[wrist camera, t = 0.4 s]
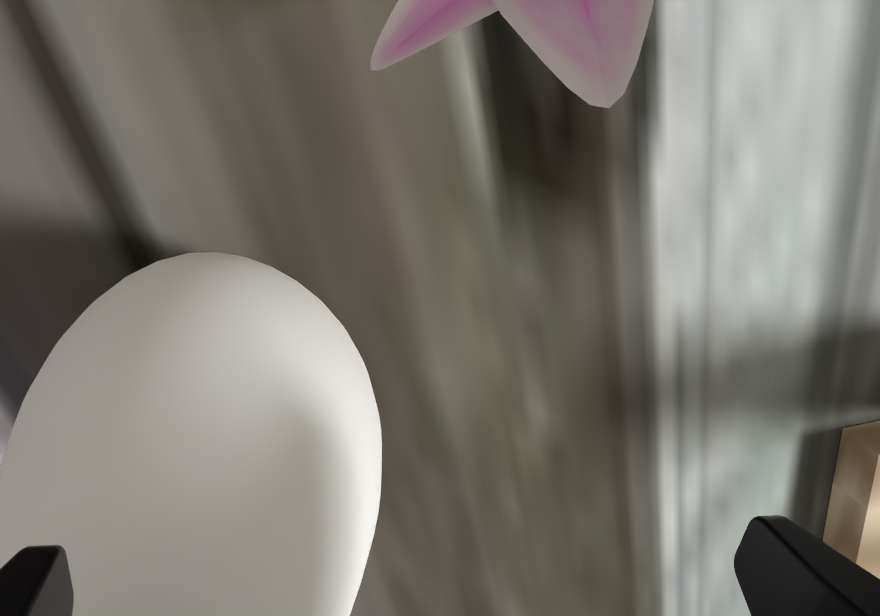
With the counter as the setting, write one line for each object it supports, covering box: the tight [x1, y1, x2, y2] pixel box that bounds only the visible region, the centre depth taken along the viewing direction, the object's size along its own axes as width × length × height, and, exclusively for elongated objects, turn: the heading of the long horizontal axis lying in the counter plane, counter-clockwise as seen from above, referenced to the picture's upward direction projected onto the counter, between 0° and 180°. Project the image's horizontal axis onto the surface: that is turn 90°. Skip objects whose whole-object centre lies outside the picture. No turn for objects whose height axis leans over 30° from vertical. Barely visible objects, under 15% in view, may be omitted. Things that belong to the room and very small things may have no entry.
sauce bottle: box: [0, 252, 382, 616], centre depth 15 cm, size 8×8×18 cm
